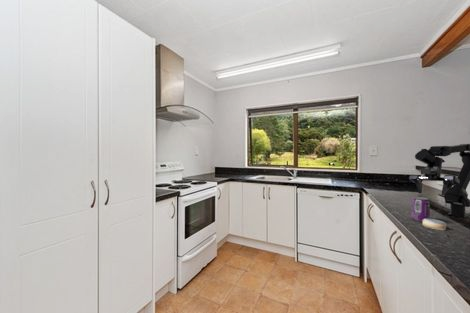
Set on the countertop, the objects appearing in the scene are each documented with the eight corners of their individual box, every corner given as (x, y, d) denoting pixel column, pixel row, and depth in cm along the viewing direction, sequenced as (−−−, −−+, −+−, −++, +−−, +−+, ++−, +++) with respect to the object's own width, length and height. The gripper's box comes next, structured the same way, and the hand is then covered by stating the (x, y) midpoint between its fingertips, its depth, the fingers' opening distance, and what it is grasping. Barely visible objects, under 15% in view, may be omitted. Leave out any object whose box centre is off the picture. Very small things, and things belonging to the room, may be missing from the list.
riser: (427, 223, 101) (427, 217, 101) (449, 228, 94) (449, 222, 94) (419, 225, 97) (419, 219, 97) (441, 231, 90) (441, 224, 90)
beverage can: (433, 223, 100) (433, 199, 100) (417, 222, 102) (417, 199, 102) (423, 218, 107) (423, 196, 107) (408, 217, 109) (408, 196, 109)
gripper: (405, 162, 115) (401, 187, 111) (451, 160, 98) (448, 190, 94) (415, 169, 119) (412, 194, 115) (461, 169, 102) (458, 198, 98)
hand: (430, 194), depth 105 cm, fingers open, 9 cm apart
